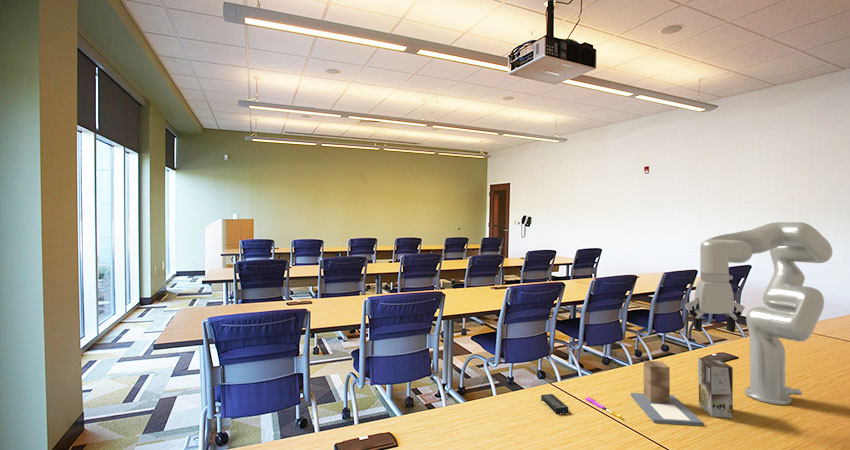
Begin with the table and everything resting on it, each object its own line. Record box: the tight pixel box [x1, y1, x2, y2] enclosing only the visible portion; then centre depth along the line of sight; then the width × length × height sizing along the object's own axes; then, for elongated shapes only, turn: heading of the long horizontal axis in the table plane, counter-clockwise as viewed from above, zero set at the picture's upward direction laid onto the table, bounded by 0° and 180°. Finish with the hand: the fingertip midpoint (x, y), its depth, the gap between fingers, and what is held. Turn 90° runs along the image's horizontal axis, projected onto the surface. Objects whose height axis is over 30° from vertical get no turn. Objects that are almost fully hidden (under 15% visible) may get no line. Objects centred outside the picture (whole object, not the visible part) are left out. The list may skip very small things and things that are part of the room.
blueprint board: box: [630, 360, 704, 427], centre depth 134 cm, size 14×20×13 cm
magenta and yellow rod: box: [585, 396, 625, 420], centre depth 135 cm, size 3×1×16 cm
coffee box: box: [697, 357, 734, 419], centre depth 132 cm, size 9×6×16 cm
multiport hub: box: [540, 393, 569, 415], centre depth 136 cm, size 4×11×2 cm, turn 10°
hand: (714, 330), depth 132 cm, fingers open, 9 cm apart
